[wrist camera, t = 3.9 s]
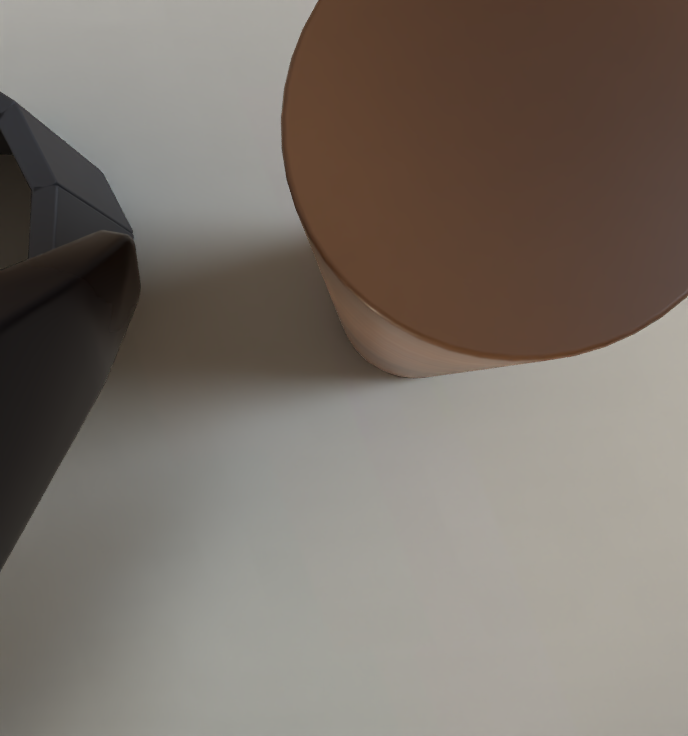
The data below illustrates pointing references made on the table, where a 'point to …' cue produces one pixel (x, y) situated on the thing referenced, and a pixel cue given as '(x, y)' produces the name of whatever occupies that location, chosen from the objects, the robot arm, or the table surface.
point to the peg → (491, 174)
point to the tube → (57, 183)
